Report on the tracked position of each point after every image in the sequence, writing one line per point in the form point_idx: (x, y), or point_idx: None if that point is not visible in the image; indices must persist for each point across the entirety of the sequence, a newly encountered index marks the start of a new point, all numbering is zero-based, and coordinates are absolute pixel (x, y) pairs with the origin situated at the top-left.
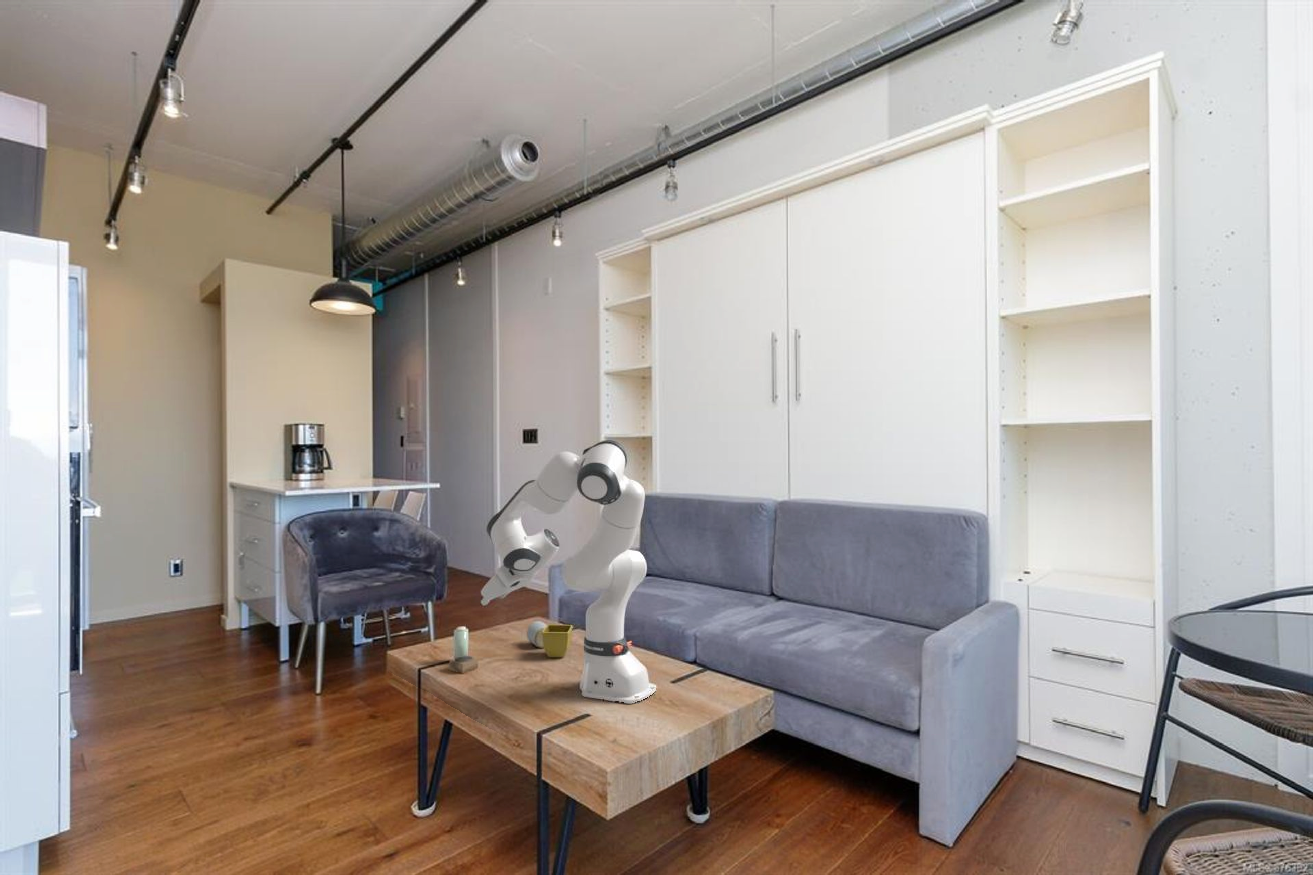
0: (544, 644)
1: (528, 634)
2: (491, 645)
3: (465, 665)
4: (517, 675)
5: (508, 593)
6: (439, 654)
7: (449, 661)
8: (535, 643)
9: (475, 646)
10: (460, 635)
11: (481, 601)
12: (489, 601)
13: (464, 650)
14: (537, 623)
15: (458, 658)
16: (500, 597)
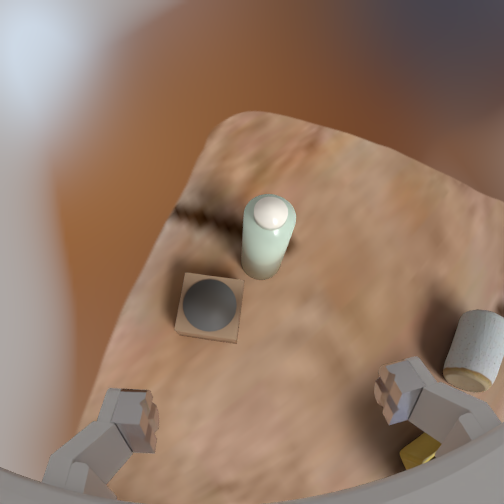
0: (405, 459)
1: (463, 323)
2: (398, 245)
3: (186, 333)
4: (240, 479)
5: (426, 426)
6: (278, 180)
7: (185, 273)
8: (444, 369)
9: (370, 215)
10: (248, 235)
11: (108, 395)
12: (149, 452)
13: (257, 265)
14: (497, 333)
15: (206, 287)
16: (375, 384)
